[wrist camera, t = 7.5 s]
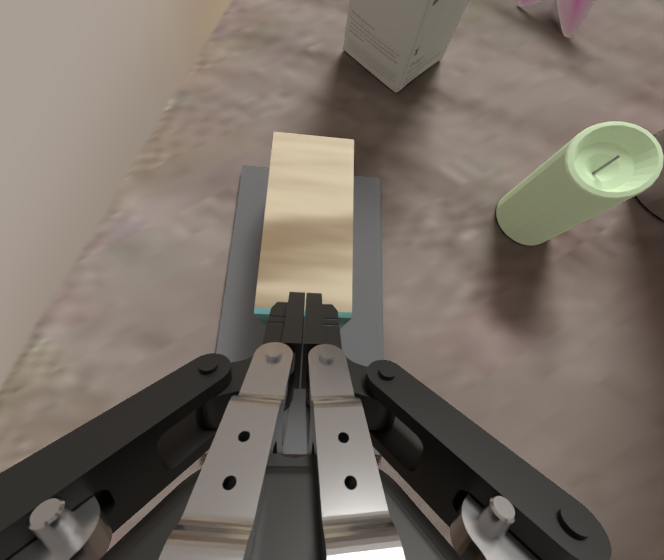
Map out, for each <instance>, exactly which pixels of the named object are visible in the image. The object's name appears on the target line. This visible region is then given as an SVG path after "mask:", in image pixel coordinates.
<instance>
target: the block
mask: <svg viewBox="0 0 664 560" xmlns="http://www.w3.org/2000/svg"><path fill="white" fill-rule="evenodd" d="M353 187H354V140H353V139H343V138H333V137H323V136H313V135H303V134H293V133H283V132H274V134H273V143H272V152H271V161H270V170H269V179H268V189H267V198H266V207H265V216H264V225H263V234H262V243H261V252H260V261H259V270H258V279H257V288H256V297H255V306H254V314H255V315H256V316H257V317H258V318H259V319H260V321H261V322H262V323H263V324H264V325H265V326H267V323H268V319H269V315H270V311H271V308H272V307H273V306H274V305H275V304H276V303H277V302H288V298H289V292H305V306H304V324H303V328H304V326H305V310H306V294H307V293H322V304H333V306H334V307H335V308H336V309H337V311H338V317H339V326H340V329H341V328H342V327H343V326H344V325H345V324H346V323H347V322H348V321H350V320H351V319H352V274H353Z"/></svg>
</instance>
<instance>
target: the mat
mask: <svg viewBox="0 0 664 560" xmlns="http://www.w3.org/2000/svg"><path fill="white" fill-rule="evenodd" d="M269 170H270V168H265V167H254V166H243V167H242V174H241V181H240V188H239V195H238V202H237V209H236V216H235V223H234V230H233V237H232V244H231V251H230V258H229V265H228V272H227V279H226V286H225V293H224V300H223V307H222V314H221V321H220V328H219V335H218V342H217V349H216V354H222V355H224V356H226V357H227V358H228V359H229V360H230V363H231V362H236V361H241V360H245V359H248V358H250V357H252V356H254V353H255V351H256V350H257V349H258V348H259V347H260V346H262V343H263V339H264V335H265V331H266V327H267V326H265V325H264V324H263V323H262V322H261V321H260V319H259V318H258V317H257V316H256V315H255V314H254V306H255V297H256V288H257V279H258V270H259V261H260V252H261V243H262V234H263V225H264V216H265V207H266V198H267V189H268V179H269ZM340 336H341V345H342V351H343V352H344V353H345V356H346V357H347V358H348V359H349V360H351V361H352V362H355V363H357V364H360V365H363V366H367V367H368V366H369V365H370V364H371V363H372V362H374V361H377V360H384V353H383V301H382V249H381V197H380V178H378V177H367V176H356V175H354V187H353V274H352V319H351V320H350V321H348V322H347V323H346V324H345V325H344V326H343V327H342V328H341V329H340ZM303 342H304V328H303V340H302V355H301V369H300V384H299V389H294V394H293V400H292V402H291V411H290V416H289V422H288V427H287V433H286V439H285V444H284V450H283V454H307V445H306V422H305V398H306V389H301V378H302V360H303ZM373 450H374V454H375V455H381V454H380V453H379V452H378V451H377V450H376V449H375V448H374V447H373ZM208 452H209V450H208V451H207V452H206V453H204V454H208Z"/></svg>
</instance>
